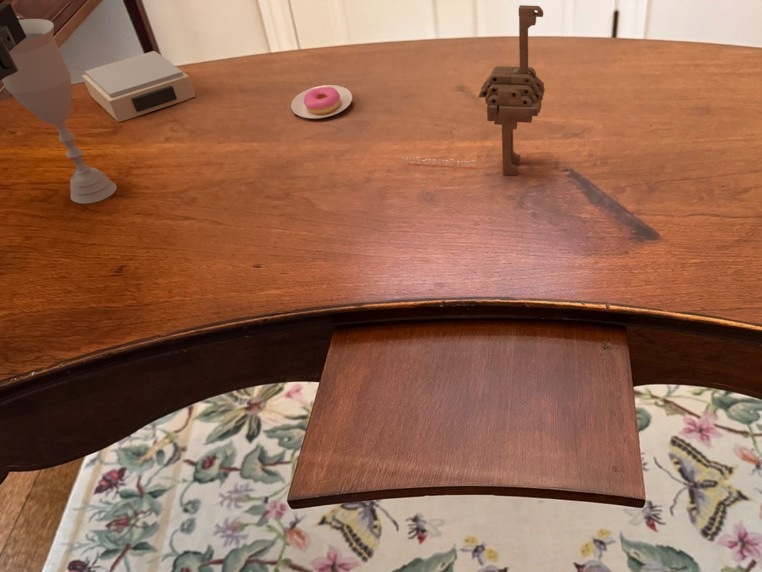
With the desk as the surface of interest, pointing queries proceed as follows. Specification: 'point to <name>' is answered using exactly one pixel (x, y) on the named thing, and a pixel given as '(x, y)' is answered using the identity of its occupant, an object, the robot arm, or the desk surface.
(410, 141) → the desk surface
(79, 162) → the chalice
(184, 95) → the scale
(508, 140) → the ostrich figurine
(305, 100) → the donut
